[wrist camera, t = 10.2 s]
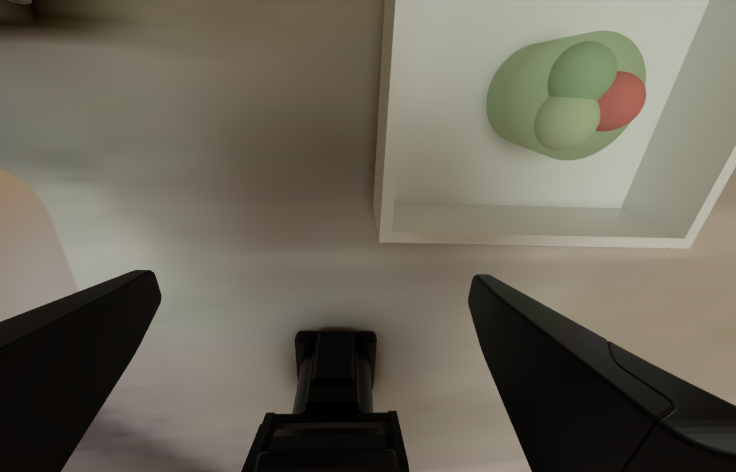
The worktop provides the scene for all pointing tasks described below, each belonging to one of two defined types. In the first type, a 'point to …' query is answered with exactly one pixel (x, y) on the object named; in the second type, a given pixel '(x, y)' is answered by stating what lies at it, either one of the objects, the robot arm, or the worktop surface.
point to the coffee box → (22, 1)
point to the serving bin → (534, 170)
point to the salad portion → (568, 94)
